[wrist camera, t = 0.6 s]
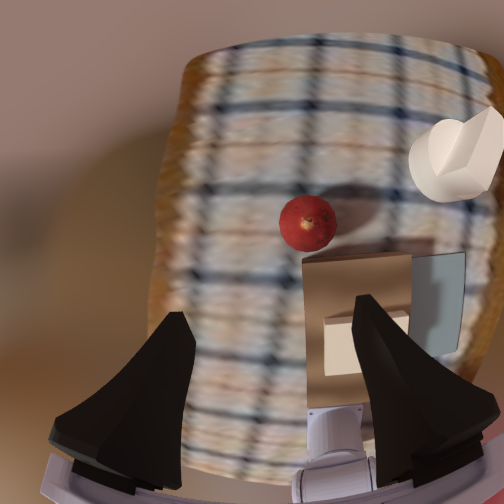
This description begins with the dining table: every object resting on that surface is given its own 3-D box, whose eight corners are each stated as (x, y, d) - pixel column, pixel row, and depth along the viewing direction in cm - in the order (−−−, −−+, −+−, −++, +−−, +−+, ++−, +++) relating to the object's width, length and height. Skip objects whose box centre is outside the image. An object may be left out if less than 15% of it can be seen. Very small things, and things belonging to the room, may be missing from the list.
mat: (455, 350, 28) (455, 351, 28) (394, 363, 30) (395, 364, 30) (463, 252, 27) (464, 252, 27) (399, 259, 29) (400, 259, 29)
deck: (392, 381, 30) (399, 396, 26) (307, 390, 33) (307, 407, 29) (399, 250, 29) (411, 254, 25) (302, 258, 31) (301, 263, 27)
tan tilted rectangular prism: (398, 358, 26) (403, 366, 24) (324, 367, 28) (325, 375, 26) (402, 310, 26) (409, 315, 24) (323, 318, 27) (324, 325, 25)
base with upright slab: (426, 120, 26) (469, 82, 15) (473, 165, 25) (527, 148, 14) (396, 170, 28) (440, 144, 16) (447, 217, 27) (504, 216, 15)
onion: (327, 194, 30) (335, 185, 22) (336, 244, 30) (346, 251, 23) (278, 203, 31) (269, 196, 23) (287, 252, 32) (281, 262, 24)
